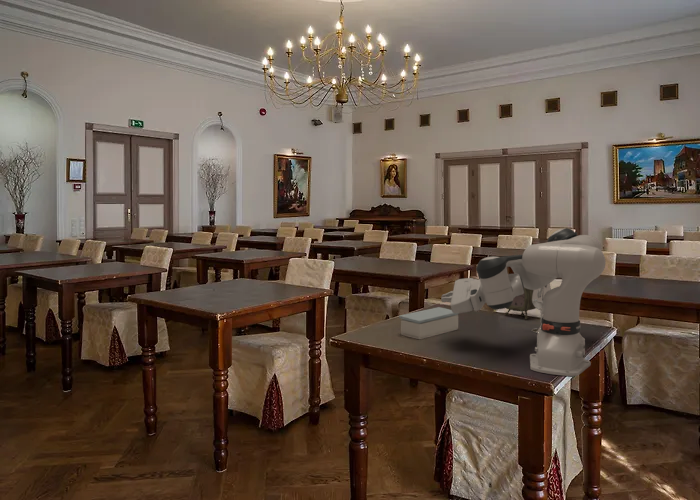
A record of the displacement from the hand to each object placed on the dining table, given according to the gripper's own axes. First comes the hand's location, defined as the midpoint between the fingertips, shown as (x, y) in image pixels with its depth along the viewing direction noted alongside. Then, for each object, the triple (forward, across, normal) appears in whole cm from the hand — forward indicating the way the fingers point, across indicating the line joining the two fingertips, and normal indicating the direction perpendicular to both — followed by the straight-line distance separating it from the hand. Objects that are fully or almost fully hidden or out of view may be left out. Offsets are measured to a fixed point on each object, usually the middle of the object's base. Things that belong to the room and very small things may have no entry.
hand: (441, 298), depth 200 cm
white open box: (+11, -8, +18) cm, 23 cm away
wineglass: (-30, -19, +33) cm, 48 cm away
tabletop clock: (-20, -44, +40) cm, 62 cm away
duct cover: (+10, -10, +12) cm, 19 cm away
